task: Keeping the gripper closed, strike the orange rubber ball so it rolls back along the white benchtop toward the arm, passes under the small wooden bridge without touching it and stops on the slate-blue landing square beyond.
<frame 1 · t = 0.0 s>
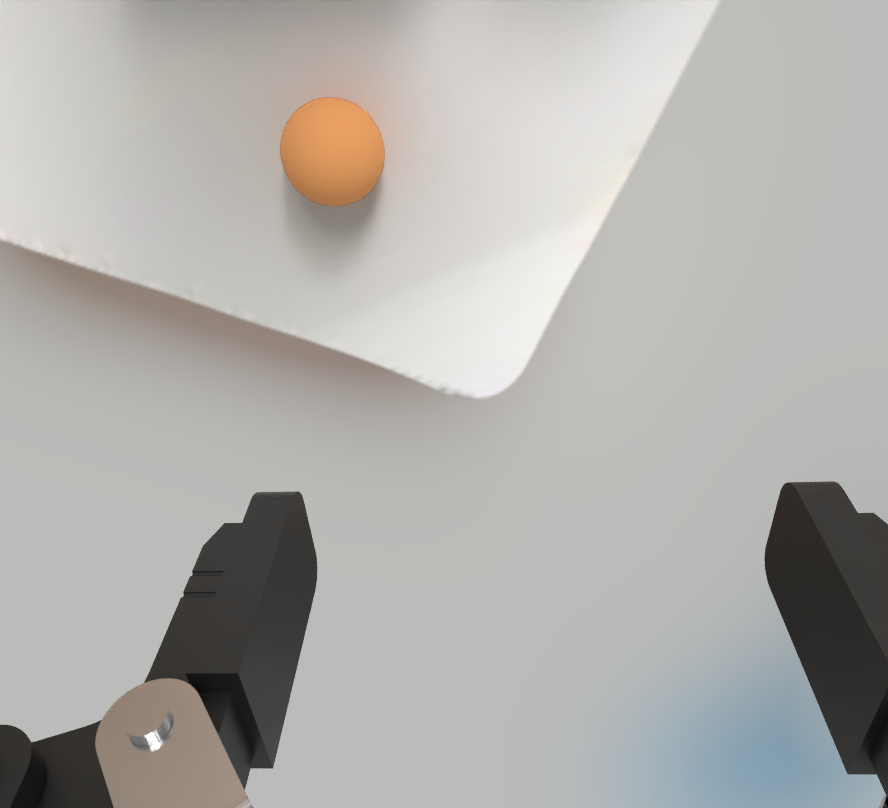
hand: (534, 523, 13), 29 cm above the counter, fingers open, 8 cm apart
ball: (332, 153, 36), on the counter
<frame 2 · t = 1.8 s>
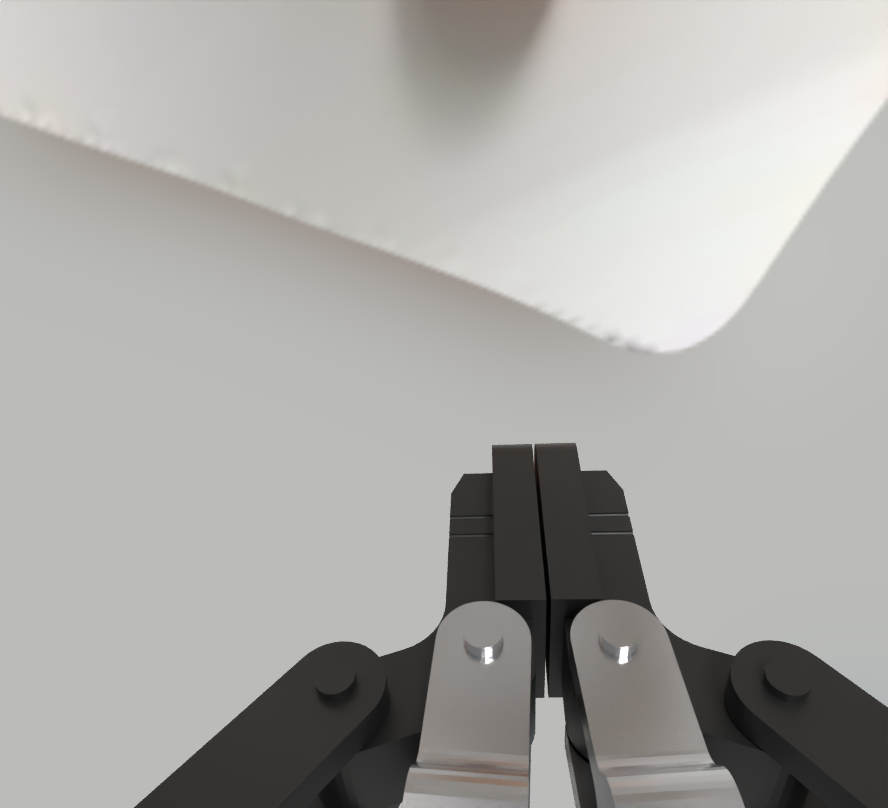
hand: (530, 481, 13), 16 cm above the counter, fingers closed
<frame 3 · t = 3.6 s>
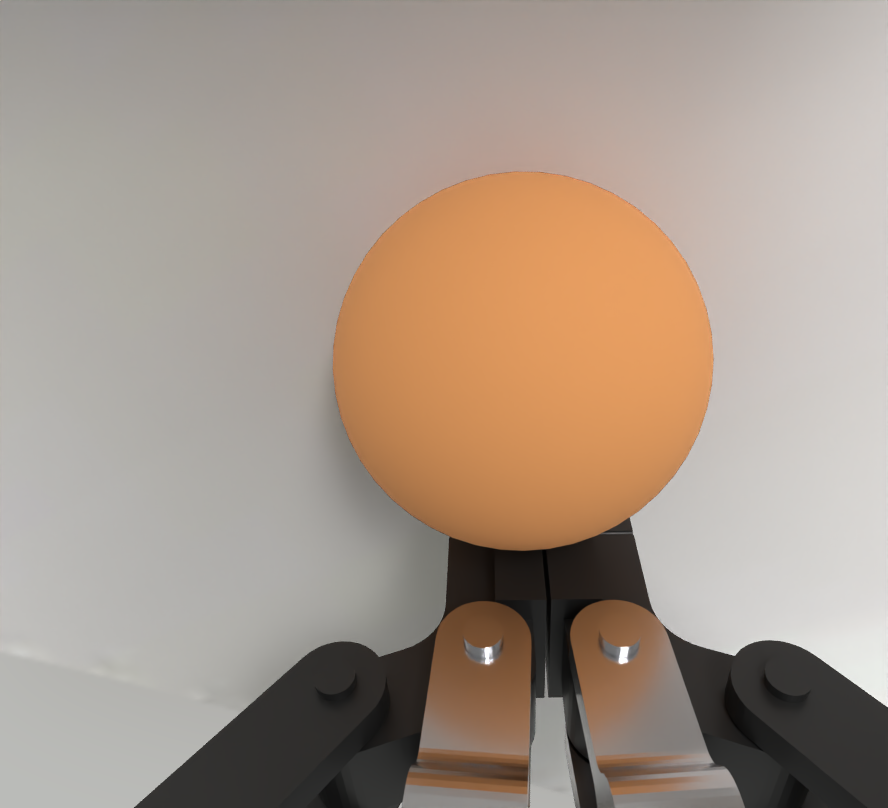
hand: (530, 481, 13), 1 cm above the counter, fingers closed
ball: (518, 363, 10), on the counter
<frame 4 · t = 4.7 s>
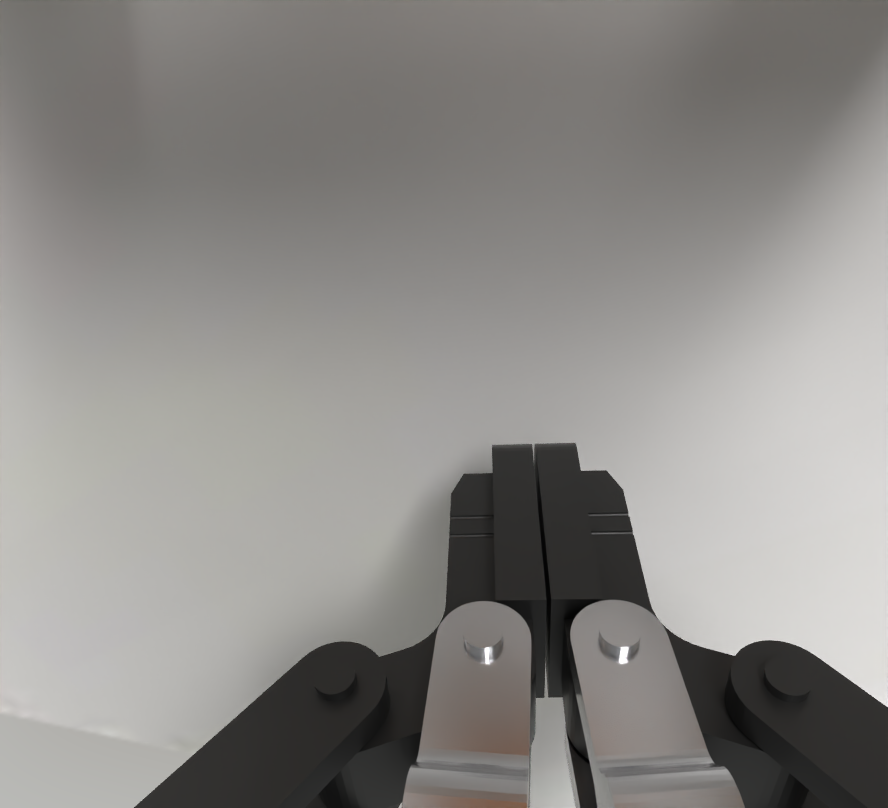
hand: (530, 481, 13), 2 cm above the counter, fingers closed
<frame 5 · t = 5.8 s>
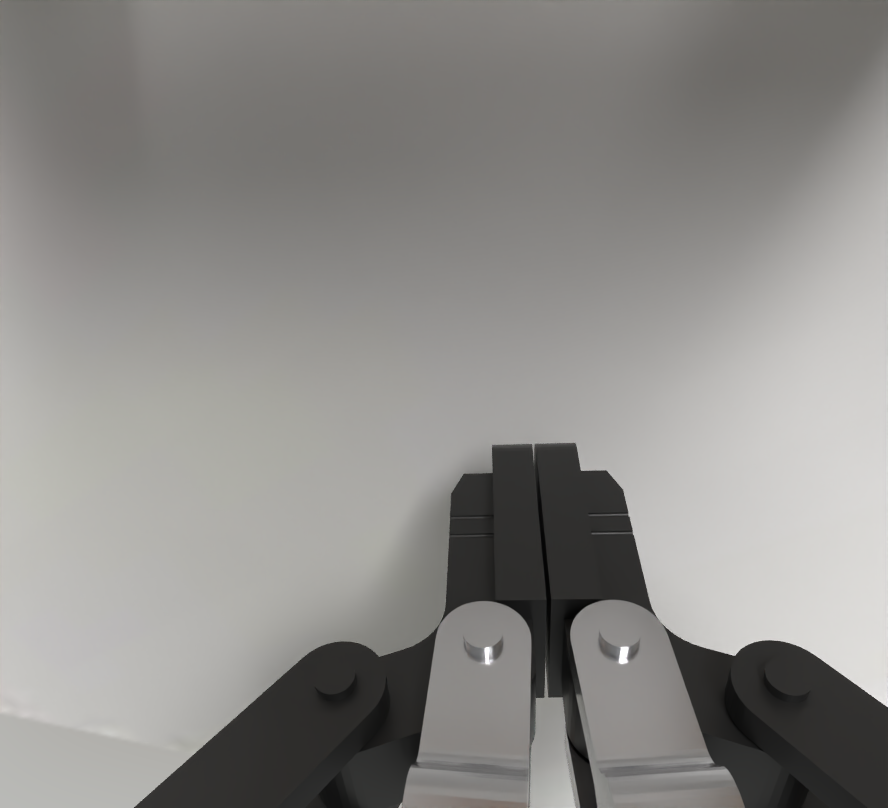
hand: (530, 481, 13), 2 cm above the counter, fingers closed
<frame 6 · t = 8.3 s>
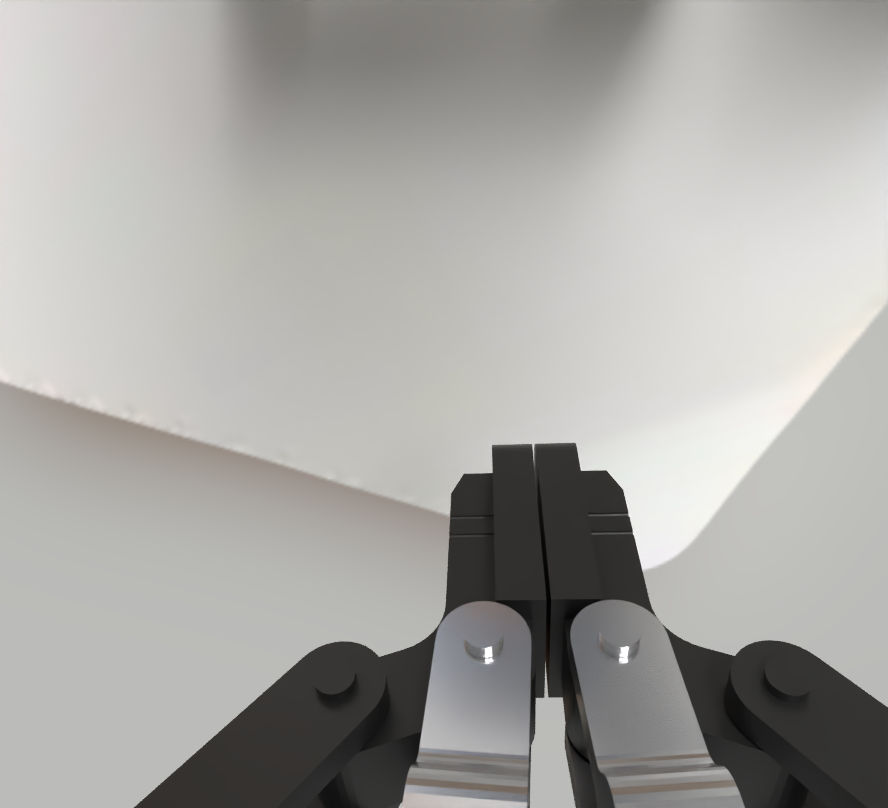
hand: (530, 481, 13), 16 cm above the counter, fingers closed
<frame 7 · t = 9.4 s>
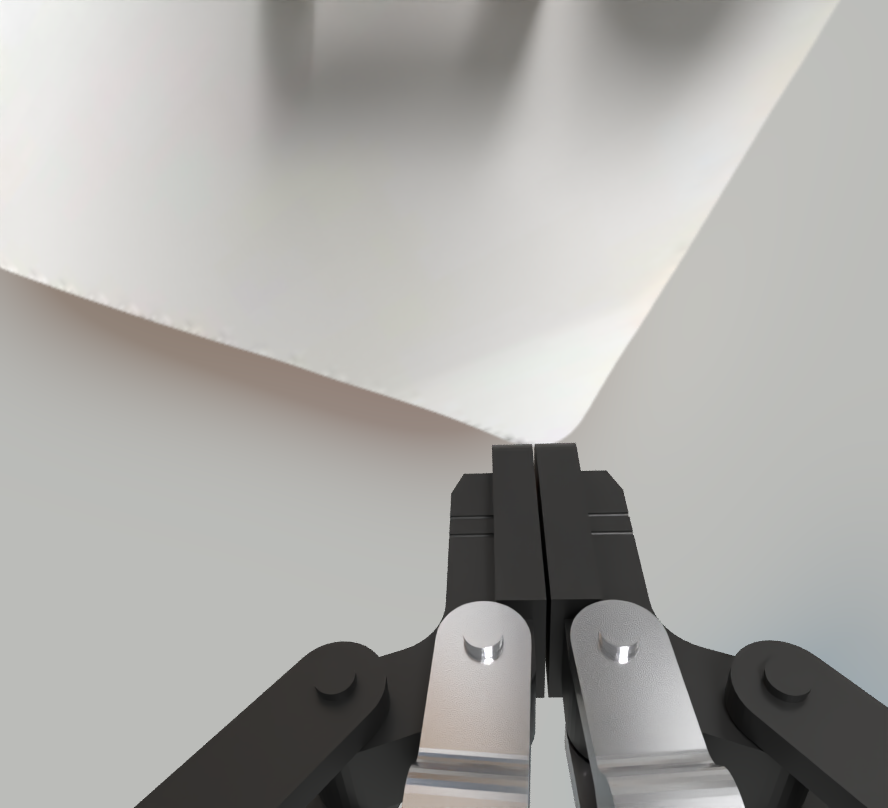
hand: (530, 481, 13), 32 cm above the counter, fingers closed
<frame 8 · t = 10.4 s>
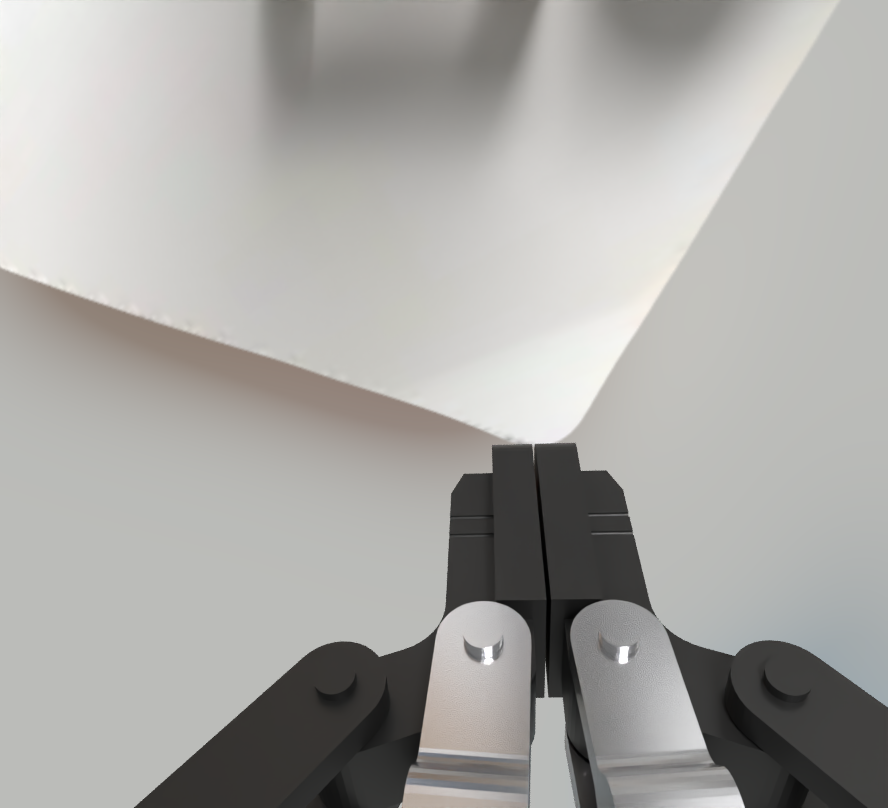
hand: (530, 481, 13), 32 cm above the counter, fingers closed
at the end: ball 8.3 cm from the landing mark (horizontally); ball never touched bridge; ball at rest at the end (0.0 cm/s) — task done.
